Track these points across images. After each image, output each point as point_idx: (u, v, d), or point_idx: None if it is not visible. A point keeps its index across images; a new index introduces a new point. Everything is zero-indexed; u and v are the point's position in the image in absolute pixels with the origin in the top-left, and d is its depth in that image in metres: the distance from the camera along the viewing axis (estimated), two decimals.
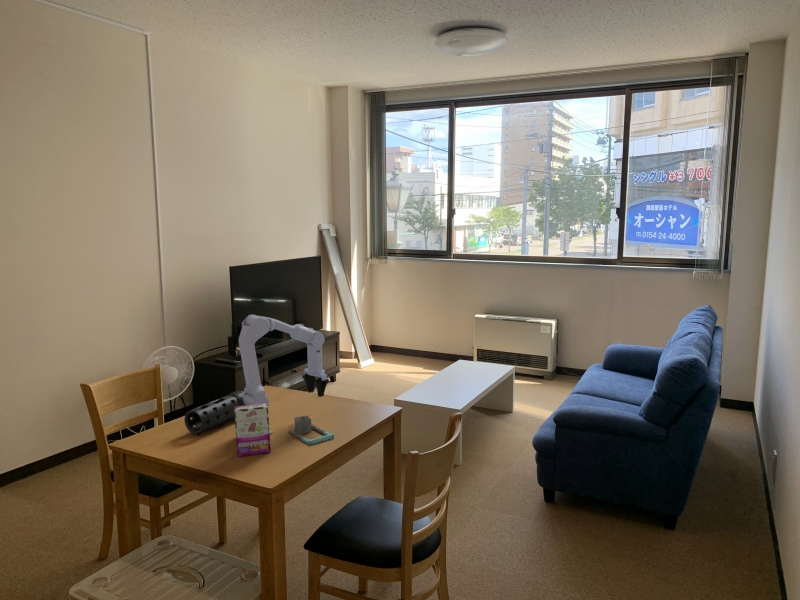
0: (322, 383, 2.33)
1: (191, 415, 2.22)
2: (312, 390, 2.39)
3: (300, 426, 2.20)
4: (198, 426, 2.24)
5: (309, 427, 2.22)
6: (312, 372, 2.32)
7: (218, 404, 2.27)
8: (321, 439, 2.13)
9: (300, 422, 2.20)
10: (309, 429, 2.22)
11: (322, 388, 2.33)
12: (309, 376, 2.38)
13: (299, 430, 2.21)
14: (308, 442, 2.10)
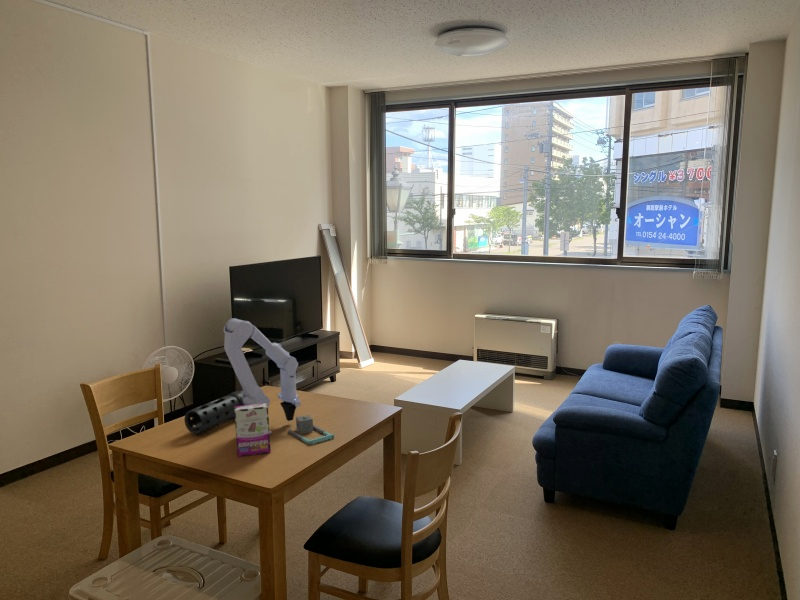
0: (291, 407, 2.30)
1: (191, 415, 2.22)
2: None
3: (302, 426, 2.21)
4: (198, 426, 2.24)
5: (310, 427, 2.22)
6: (285, 398, 2.27)
7: (218, 404, 2.27)
8: (321, 439, 2.13)
9: (302, 422, 2.21)
10: (311, 429, 2.22)
11: (291, 411, 2.30)
12: None
13: (301, 430, 2.21)
14: (308, 442, 2.10)
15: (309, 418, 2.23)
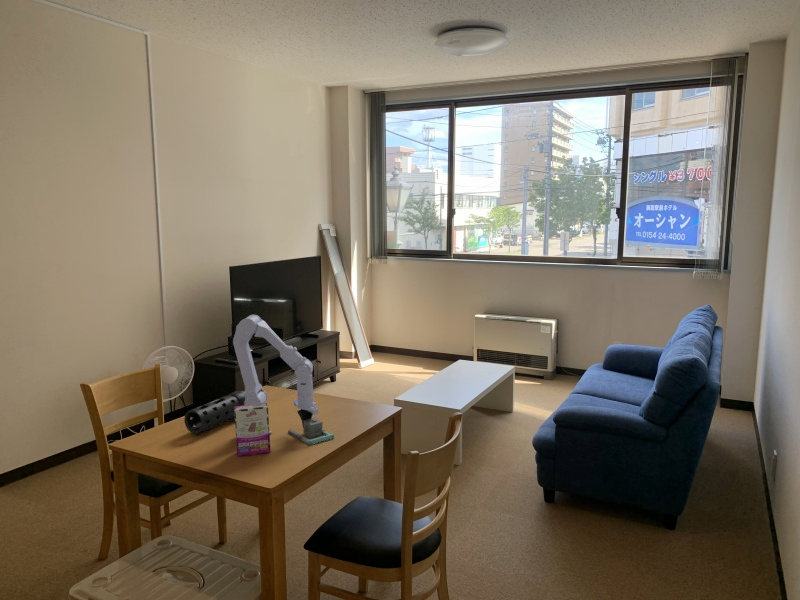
0: (307, 414, 2.21)
1: (191, 415, 2.22)
2: None
3: (312, 430, 2.16)
4: (198, 426, 2.24)
5: (320, 430, 2.19)
6: (302, 406, 2.17)
7: (218, 404, 2.27)
8: (321, 439, 2.13)
9: (312, 426, 2.16)
10: (320, 432, 2.19)
11: None
12: None
13: (311, 434, 2.16)
14: (308, 442, 2.10)
15: (318, 421, 2.19)
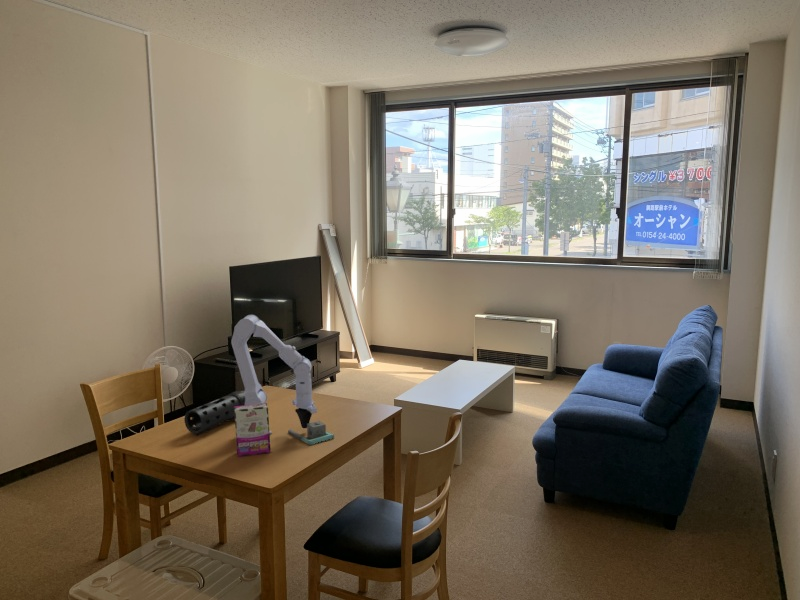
0: (307, 414, 2.21)
1: (191, 415, 2.22)
2: None
3: (315, 432, 2.14)
4: (198, 426, 2.24)
5: (323, 433, 2.16)
6: (301, 404, 2.18)
7: (218, 404, 2.27)
8: (321, 439, 2.13)
9: (315, 428, 2.14)
10: (323, 435, 2.16)
11: (307, 418, 2.21)
12: None
13: (314, 436, 2.14)
14: (308, 442, 2.10)
15: (321, 424, 2.17)
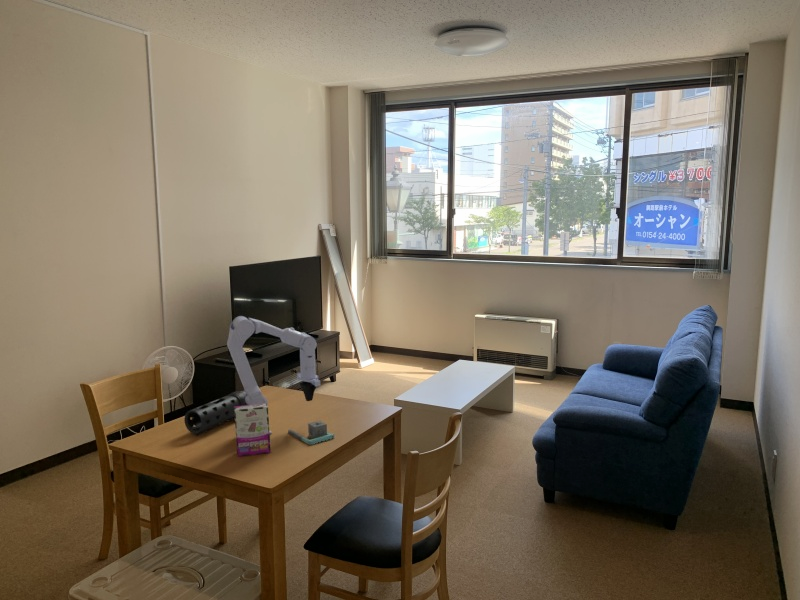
0: (311, 387, 2.29)
1: (191, 415, 2.22)
2: None
3: (316, 432, 2.14)
4: (198, 426, 2.24)
5: (324, 432, 2.16)
6: (305, 378, 2.26)
7: (218, 404, 2.27)
8: (321, 439, 2.13)
9: (316, 428, 2.14)
10: (325, 434, 2.17)
11: (311, 392, 2.29)
12: None
13: (315, 436, 2.14)
14: (308, 442, 2.10)
15: (323, 423, 2.17)
